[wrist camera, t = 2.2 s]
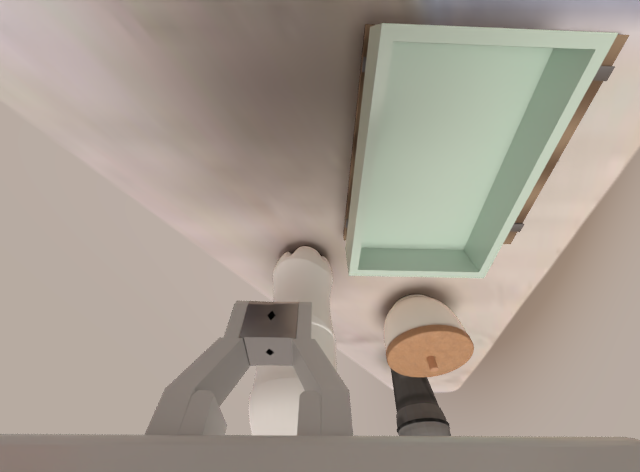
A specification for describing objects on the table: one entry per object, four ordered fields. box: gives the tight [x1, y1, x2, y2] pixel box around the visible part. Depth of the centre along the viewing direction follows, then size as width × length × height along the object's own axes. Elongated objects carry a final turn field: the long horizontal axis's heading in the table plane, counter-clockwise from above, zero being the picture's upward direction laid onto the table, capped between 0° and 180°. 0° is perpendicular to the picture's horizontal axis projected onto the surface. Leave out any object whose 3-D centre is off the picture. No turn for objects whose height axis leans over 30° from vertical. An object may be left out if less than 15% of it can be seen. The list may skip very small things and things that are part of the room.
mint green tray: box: [345, 23, 618, 278], centre depth 23 cm, size 20×14×6 cm
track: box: [343, 24, 629, 244], centre depth 26 cm, size 20×20×1 cm
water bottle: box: [249, 246, 337, 435], centre depth 24 cm, size 7×7×25 cm
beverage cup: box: [391, 369, 451, 436], centre depth 39 cm, size 7×7×20 cm
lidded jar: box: [384, 294, 474, 377], centre depth 36 cm, size 11×11×9 cm
